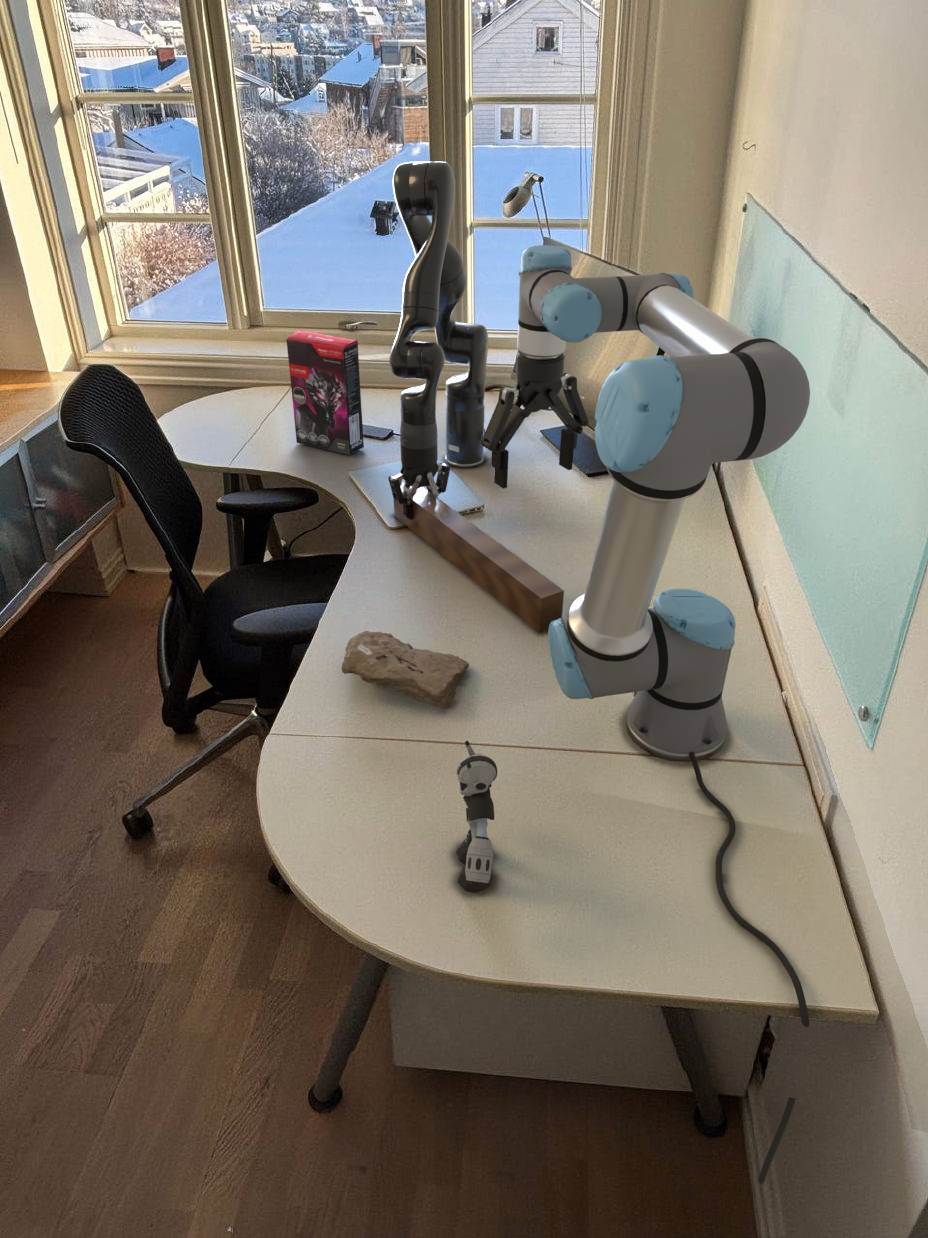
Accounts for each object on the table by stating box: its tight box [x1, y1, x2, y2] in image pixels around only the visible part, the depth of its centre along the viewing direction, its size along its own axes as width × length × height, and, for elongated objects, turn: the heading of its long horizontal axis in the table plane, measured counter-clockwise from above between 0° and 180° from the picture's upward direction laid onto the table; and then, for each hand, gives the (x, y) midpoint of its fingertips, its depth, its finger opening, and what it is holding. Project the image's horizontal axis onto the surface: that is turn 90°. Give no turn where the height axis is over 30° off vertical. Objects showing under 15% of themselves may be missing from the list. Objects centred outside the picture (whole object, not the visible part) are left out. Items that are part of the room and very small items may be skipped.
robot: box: [455, 740, 498, 893], centre depth 114 cm, size 20×5×20 cm, turn 3°
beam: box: [393, 482, 565, 634], centre depth 182 cm, size 53×5×7 cm, turn 33°
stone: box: [341, 630, 470, 709], centre depth 151 cm, size 21×15×6 cm
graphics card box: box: [285, 330, 365, 456], centre depth 225 cm, size 17×7×27 cm, turn 62°
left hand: (420, 514), depth 196 cm, fingers closed on beam, 5 cm apart
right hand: (533, 476), depth 156 cm, fingers open, 13 cm apart
